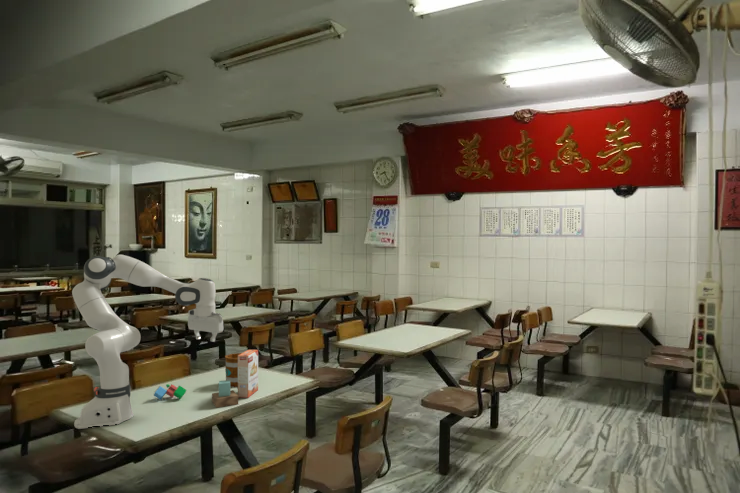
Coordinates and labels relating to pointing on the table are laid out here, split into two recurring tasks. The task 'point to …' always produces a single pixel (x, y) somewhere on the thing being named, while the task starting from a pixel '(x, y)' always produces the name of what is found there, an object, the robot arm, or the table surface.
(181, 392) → the building blocks
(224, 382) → the teal block
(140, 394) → the table surface
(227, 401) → the walnut base block
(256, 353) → the cracker box
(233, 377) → the mug
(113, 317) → the robot arm
